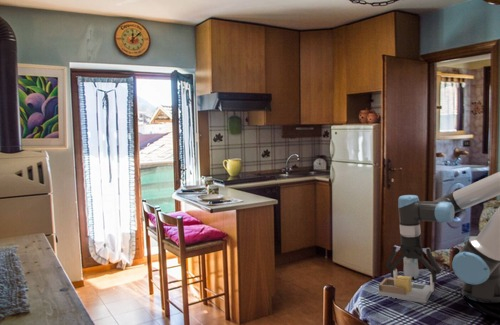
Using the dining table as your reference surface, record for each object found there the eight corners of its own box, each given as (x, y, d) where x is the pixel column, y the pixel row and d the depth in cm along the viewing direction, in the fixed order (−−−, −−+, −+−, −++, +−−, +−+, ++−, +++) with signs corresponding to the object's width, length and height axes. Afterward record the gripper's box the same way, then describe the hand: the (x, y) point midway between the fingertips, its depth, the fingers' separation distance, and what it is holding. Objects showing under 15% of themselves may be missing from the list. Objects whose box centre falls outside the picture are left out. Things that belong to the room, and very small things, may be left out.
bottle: (400, 276, 180) (397, 232, 179) (412, 274, 182) (410, 230, 181) (410, 281, 173) (407, 235, 172) (423, 278, 175) (420, 233, 174)
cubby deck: (433, 290, 161) (432, 279, 161) (426, 303, 150) (425, 291, 150) (388, 284, 172) (387, 274, 172) (378, 295, 160) (377, 284, 160)
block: (411, 289, 159) (411, 276, 159) (408, 293, 155) (408, 281, 155) (399, 287, 162) (398, 275, 162) (395, 291, 158) (395, 279, 158)
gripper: (447, 234, 151) (450, 289, 152) (381, 230, 166) (384, 280, 167) (443, 239, 145) (447, 296, 146) (375, 235, 160) (379, 286, 160)
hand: (413, 288), depth 156 cm, fingers open, 13 cm apart
